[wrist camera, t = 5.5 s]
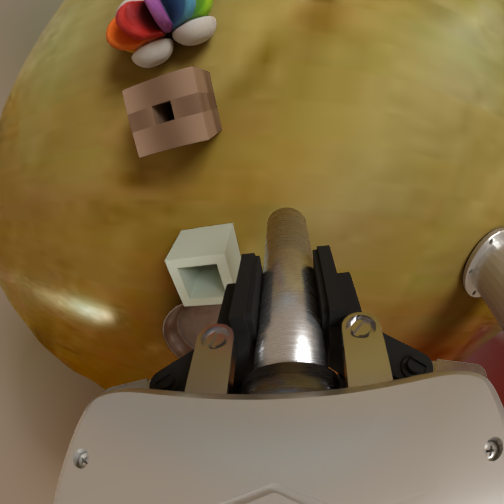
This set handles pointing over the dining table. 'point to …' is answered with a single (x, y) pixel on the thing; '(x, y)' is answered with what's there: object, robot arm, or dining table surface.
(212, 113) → the narrow block
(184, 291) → the wide bore block
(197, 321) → the plant saucer
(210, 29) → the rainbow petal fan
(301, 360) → the cylinder
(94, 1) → the dining table surface
